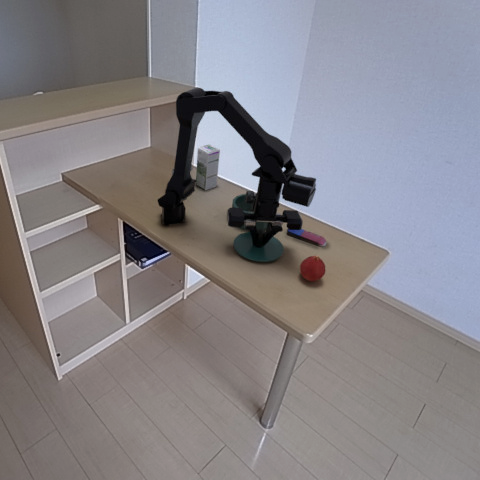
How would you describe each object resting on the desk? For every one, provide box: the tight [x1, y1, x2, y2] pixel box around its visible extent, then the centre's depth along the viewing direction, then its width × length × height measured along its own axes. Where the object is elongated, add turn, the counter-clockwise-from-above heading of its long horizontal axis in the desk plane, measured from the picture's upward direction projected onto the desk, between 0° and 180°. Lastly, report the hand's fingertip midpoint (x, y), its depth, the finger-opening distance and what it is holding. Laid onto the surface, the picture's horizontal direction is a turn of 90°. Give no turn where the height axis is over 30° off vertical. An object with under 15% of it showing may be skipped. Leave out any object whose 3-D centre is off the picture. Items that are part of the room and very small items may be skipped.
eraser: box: [286, 228, 327, 248], centre depth 107 cm, size 11×4×2 cm, turn 53°
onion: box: [299, 255, 326, 282], centre depth 91 cm, size 6×6×8 cm
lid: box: [232, 229, 285, 263], centre depth 101 cm, size 14×14×6 cm
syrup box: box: [195, 144, 221, 191], centre depth 131 cm, size 6×6×14 cm
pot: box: [231, 193, 268, 231], centre depth 114 cm, size 13×13×6 cm
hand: (258, 244), depth 102 cm, fingers closed on lid, 2 cm apart
